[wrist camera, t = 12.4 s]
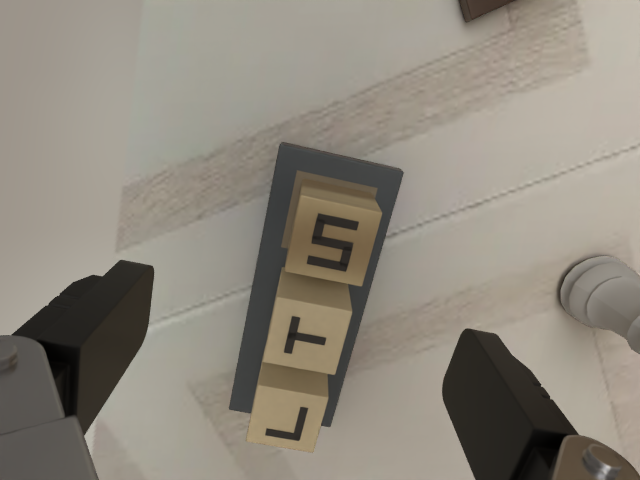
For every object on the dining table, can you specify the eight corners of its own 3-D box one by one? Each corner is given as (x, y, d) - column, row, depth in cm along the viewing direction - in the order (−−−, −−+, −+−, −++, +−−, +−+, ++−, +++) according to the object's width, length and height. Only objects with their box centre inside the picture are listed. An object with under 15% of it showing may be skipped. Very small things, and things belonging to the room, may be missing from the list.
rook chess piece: (542, 304, 28) (625, 383, 21) (580, 242, 27) (682, 304, 20) (602, 326, 29) (703, 410, 22) (642, 266, 28) (764, 335, 20)
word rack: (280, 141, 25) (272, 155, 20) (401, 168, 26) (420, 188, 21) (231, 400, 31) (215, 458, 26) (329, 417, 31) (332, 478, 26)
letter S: (302, 177, 25) (300, 195, 21) (372, 193, 25) (383, 213, 21) (288, 244, 26) (283, 272, 22) (355, 258, 26) (362, 288, 22)
